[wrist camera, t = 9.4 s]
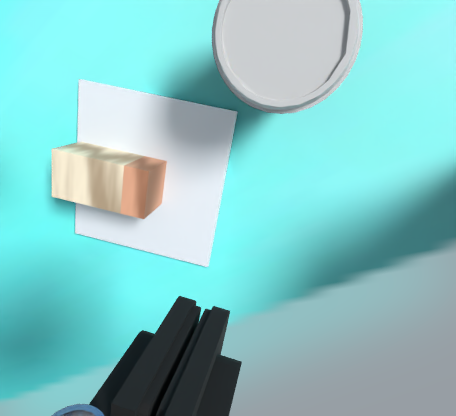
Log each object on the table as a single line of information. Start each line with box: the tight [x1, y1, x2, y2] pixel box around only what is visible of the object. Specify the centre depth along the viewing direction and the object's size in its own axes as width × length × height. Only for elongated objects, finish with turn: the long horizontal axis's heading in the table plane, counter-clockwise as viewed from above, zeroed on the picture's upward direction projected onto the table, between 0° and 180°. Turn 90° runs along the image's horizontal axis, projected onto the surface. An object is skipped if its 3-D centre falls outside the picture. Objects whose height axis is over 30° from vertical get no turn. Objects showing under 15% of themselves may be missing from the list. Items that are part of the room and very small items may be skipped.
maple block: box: [52, 142, 167, 219], centre depth 35 cm, size 5×5×10 cm
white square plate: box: [75, 79, 238, 267], centre depth 38 cm, size 17×18×1 cm
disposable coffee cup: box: [212, 0, 363, 114], centre depth 26 cm, size 10×10×12 cm
